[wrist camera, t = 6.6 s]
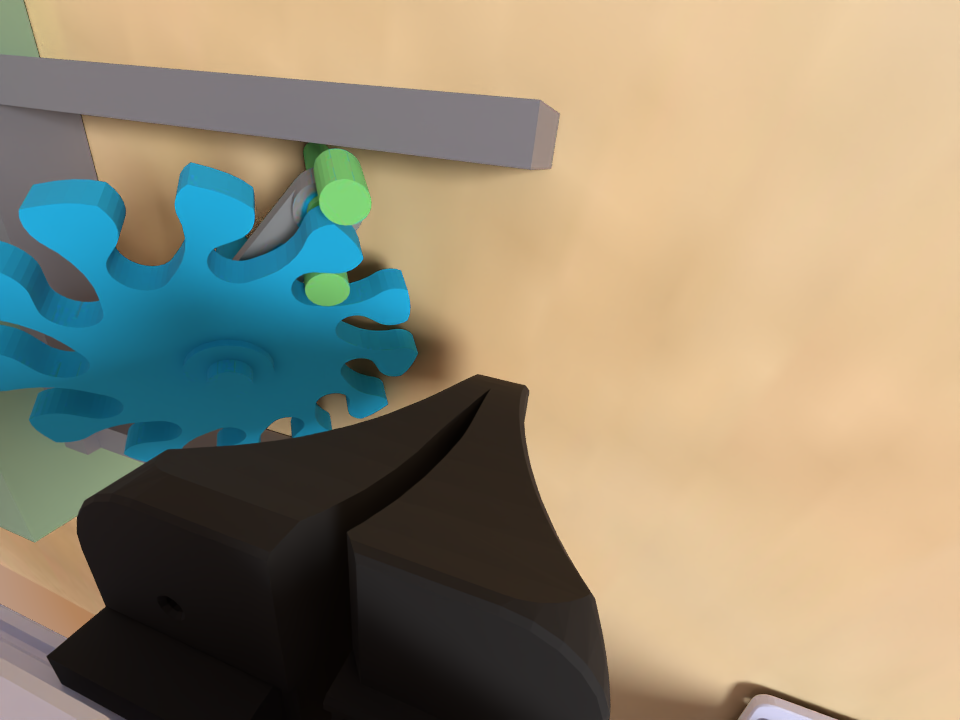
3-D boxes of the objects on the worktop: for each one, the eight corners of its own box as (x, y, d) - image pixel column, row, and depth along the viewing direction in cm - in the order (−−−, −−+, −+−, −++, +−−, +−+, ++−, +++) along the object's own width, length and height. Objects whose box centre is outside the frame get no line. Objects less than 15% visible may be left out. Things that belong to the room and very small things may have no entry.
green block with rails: (484, 585, 18) (421, 762, 12) (-11, 406, 24) (-186, 472, 19) (589, -72, 9) (527, -408, 4) (-227, -65, 16) (-655, -179, 10)
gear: (297, 495, 16) (-141, 455, 9) (287, 374, 20) (-36, 275, 13) (520, 312, 12) (64, -18, 5) (461, 201, 16) (136, -91, 9)
